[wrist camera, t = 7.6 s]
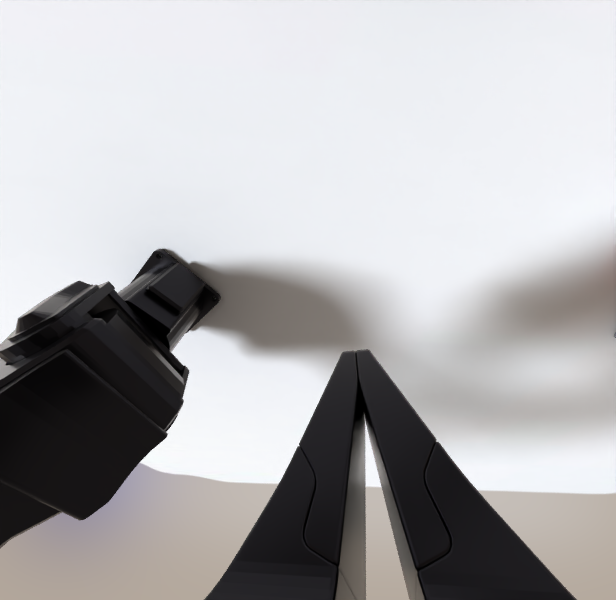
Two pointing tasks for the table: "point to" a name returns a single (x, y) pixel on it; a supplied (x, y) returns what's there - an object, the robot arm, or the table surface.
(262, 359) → the table surface
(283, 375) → the table surface
